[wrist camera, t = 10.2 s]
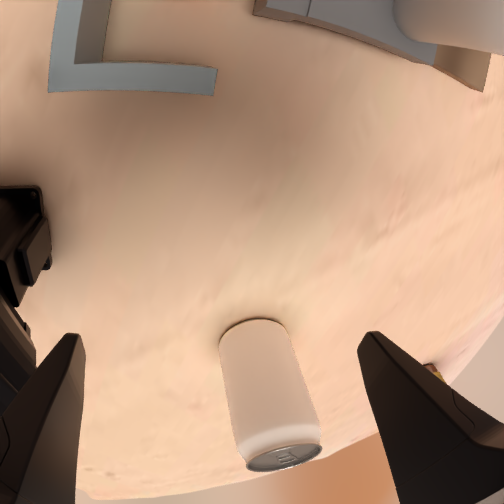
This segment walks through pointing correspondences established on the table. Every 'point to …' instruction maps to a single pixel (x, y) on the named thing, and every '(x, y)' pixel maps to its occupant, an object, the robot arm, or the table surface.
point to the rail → (463, 65)
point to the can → (267, 397)
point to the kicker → (401, 23)
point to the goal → (111, 72)
